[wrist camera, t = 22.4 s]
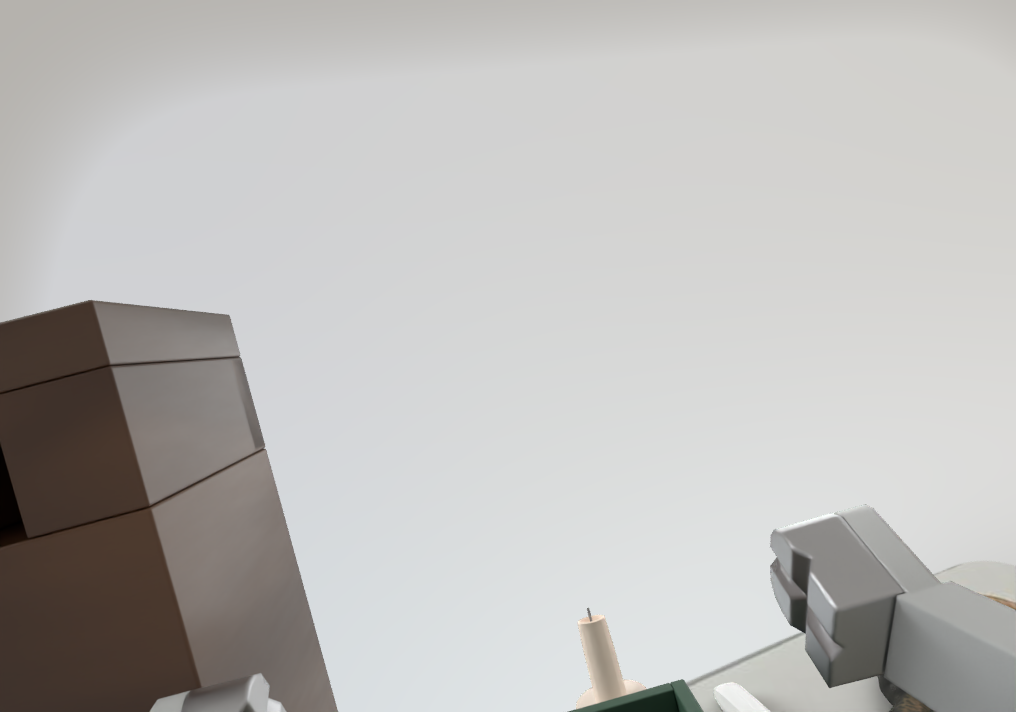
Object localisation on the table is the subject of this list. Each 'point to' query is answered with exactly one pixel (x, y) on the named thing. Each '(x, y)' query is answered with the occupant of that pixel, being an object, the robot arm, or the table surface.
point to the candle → (602, 664)
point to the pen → (737, 699)
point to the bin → (651, 701)
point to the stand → (141, 518)
